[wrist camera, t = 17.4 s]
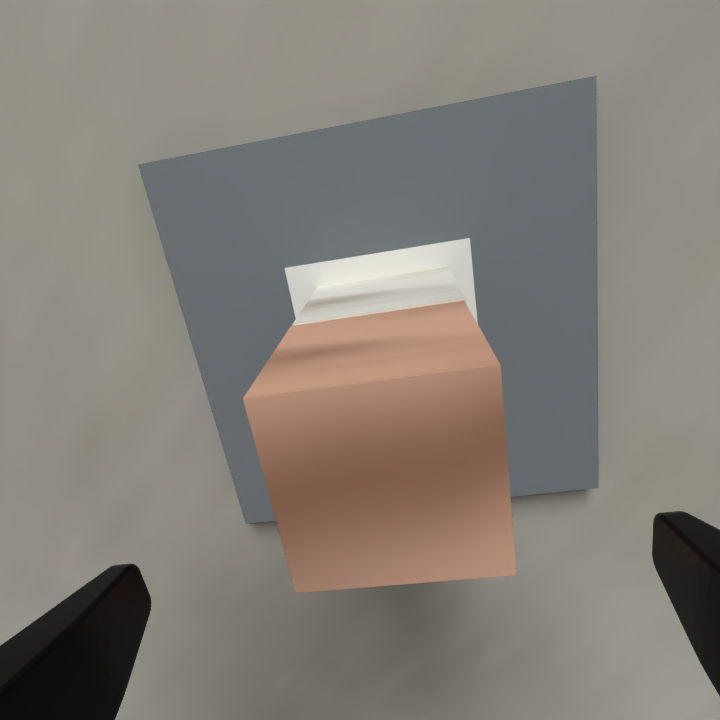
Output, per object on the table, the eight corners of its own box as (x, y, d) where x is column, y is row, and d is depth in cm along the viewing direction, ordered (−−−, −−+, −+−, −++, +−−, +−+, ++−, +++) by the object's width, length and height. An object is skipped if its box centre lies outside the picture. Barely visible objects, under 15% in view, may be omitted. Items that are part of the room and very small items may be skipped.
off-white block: (460, 388, 20) (481, 452, 16) (340, 403, 21) (325, 470, 16) (447, 266, 19) (465, 298, 14) (317, 287, 19) (292, 324, 14)
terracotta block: (479, 454, 16) (516, 574, 11) (324, 471, 16) (295, 593, 11) (464, 300, 14) (500, 364, 9) (291, 325, 14) (242, 399, 10)
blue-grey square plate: (589, 475, 23) (599, 489, 21) (251, 510, 24) (245, 525, 23) (585, 81, 17) (597, 75, 16) (150, 165, 19) (136, 164, 18)
